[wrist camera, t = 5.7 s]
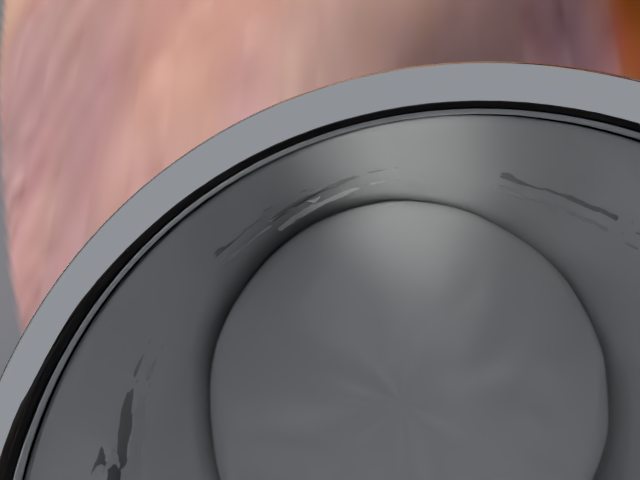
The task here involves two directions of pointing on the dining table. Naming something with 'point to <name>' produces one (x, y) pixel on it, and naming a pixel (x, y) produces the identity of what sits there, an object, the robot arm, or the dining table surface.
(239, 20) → the dining table surface
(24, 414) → the beer glass
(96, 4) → the dining table surface
